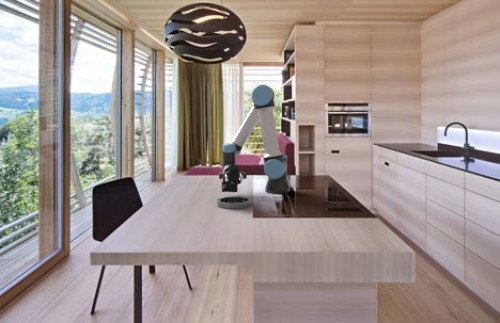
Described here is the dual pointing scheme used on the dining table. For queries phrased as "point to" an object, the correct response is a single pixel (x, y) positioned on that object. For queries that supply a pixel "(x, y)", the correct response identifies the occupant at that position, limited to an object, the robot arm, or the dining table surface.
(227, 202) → the dark grey octagonal bowl
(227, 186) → the scope
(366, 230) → the dining table surface
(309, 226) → the dining table surface
